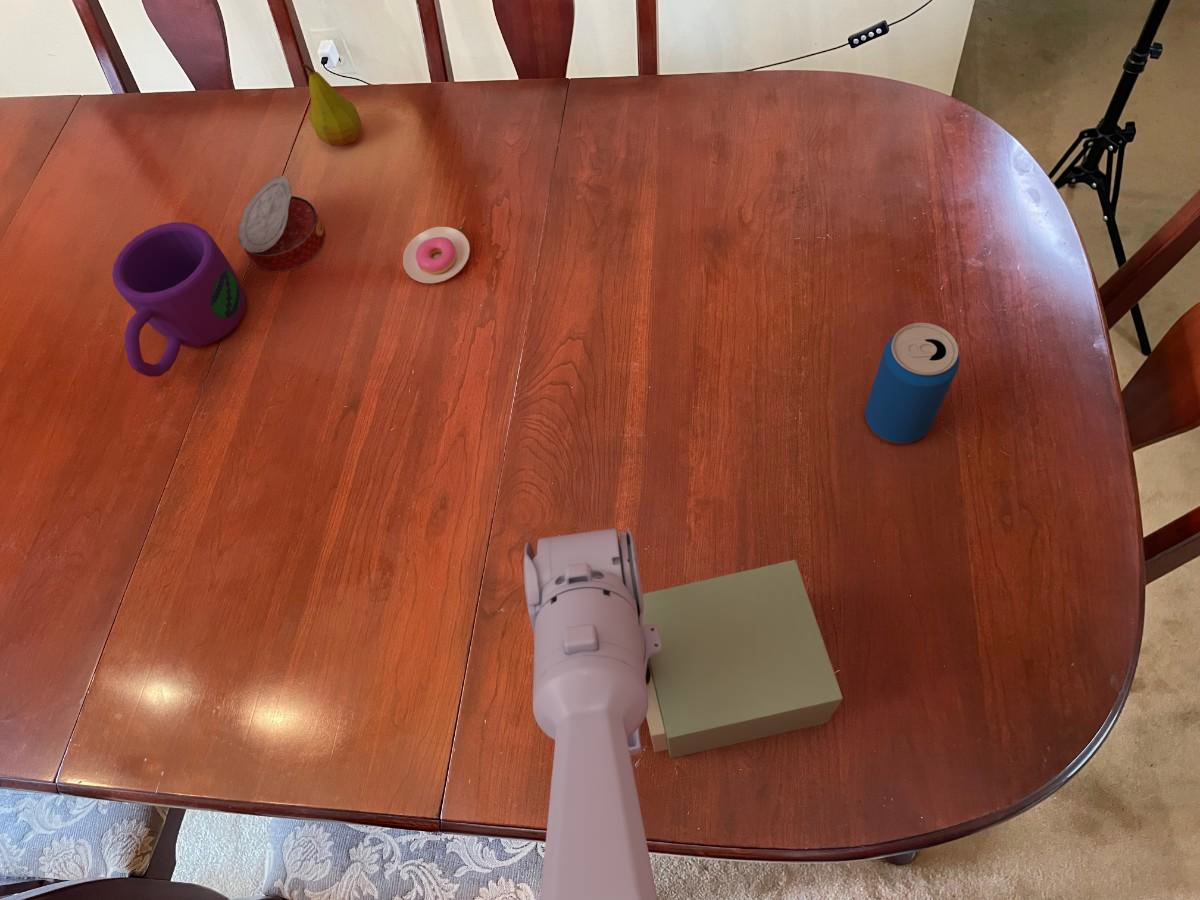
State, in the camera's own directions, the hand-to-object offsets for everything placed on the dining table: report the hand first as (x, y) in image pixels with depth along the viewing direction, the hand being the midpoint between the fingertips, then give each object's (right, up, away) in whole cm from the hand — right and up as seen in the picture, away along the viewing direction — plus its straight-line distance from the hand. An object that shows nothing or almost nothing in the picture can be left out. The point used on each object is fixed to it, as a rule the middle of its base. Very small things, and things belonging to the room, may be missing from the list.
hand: (615, 681), depth 69 cm
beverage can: (+29, +22, +16) cm, 39 cm away
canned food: (-40, +45, +37) cm, 71 cm away
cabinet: (+10, -1, +5) cm, 11 cm away
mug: (-49, +32, +31) cm, 66 cm away
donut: (-20, +43, +34) cm, 58 cm away
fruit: (-36, +61, +46) cm, 84 cm away
